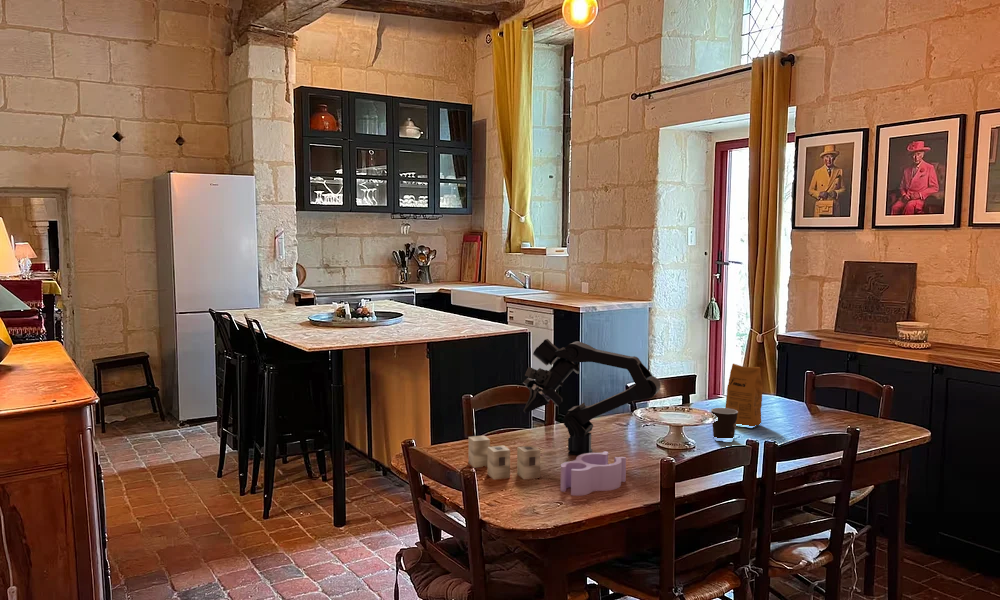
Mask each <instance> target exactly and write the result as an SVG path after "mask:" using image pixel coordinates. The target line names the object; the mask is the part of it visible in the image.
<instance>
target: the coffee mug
mask: <svg viewBox="0 0 1000 600" xmlns="http://www.w3.org/2000/svg"><path fill="white" fill-rule="evenodd" d="M710 412H711V413H713V414H715V415H716V416H717V417H718V421H716V422H714V423H712V422H711V423H712V435H713V436H714V437H717V438H733V437H734V438H735V434H736V433H735V432H736V427H737V426H736V421H737V415H738V411H737V410H734V409H729V408H725V407H715V408H712V409H711V410H710ZM711 413H710V414H711ZM713 436H712V437H713ZM714 437H713V438H714Z"/></svg>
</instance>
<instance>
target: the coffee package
mask: <svg viewBox="0 0 1000 600" xmlns="http://www.w3.org/2000/svg"><path fill="white" fill-rule="evenodd" d="M761 371H762V368H761V367H760V366H743V365H740V364H736V363H732V365H731V369H730V372H729V379H728V384H727V387H726V389H727V390H726V397H725V398H726V400H725V405H724V406H725V407H724V408H729V409H734V410H737V411H738V415H737V421H736V424H742V425H749V426H755V425H758V426H760V425H761V424H762V406H763V405H762V404H763V392H764V391H763V388H764V386H763V380H762V374H761ZM760 423H761V424H760ZM759 424H760V425H759Z"/></svg>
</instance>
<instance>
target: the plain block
mask: <svg viewBox="0 0 1000 600" xmlns="http://www.w3.org/2000/svg"><path fill="white" fill-rule="evenodd" d="M490 441H491V439H490V438H489V437H487V436H486V435H476V436H475V435H473V436H468V451H467V452H468V453H467V454H468V458H467V459H468V464H469V465H470V466H471V467H472V468H474V469H475V468H483V466H485V467H488V447H491V442H490Z"/></svg>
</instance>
